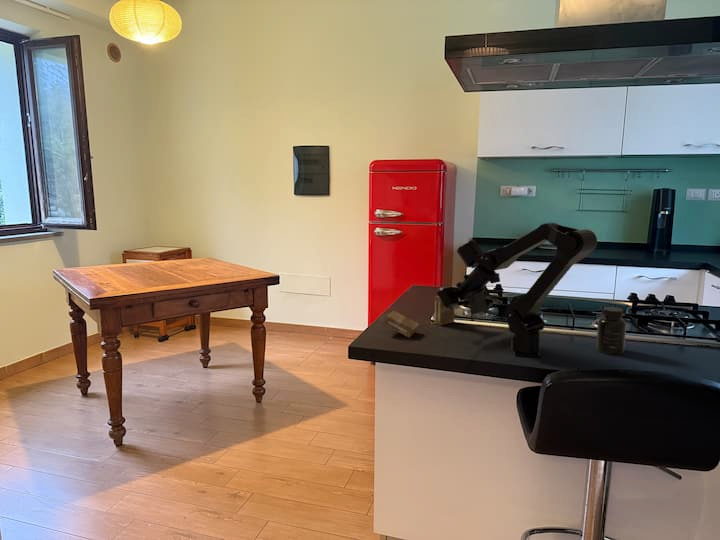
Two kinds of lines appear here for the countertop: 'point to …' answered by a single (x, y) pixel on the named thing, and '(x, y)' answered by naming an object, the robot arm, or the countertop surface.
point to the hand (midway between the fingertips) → (449, 307)
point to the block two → (442, 313)
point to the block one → (401, 324)
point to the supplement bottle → (611, 331)
